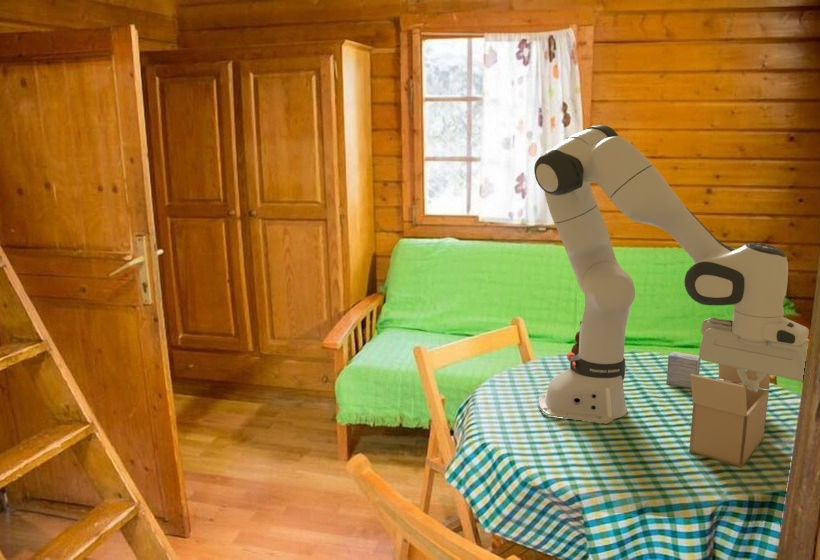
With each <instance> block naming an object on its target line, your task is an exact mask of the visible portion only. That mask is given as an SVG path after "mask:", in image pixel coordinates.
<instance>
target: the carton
mask: <svg viewBox="0 0 820 560" xmlns="http://www.w3.org/2000/svg"><path fill="white" fill-rule="evenodd" d="M717 380H721V381H724V379H719V378H718V379H717ZM725 382H728V381H725ZM730 383H733V382H730ZM734 384H737V383H734ZM739 385H741V384H739ZM769 393H770V391H769V390H768V389H764V388H759V389H758V391H757V392H754V391H750V390H746V404H747V416H742V415H738V414H734V413H730V412H726V411H722V410H719V409H715V408H711V407H707V406H703V405H699V404H695V403H693V402H692V413H691V414H692V417H691V426H690V436H689V438H690V439H689V451H688V452H690V453H693V454H696V455H700V456H703V457H707V458H709V459H713V460H715V461H716V460H717V461H719V462H722V463H726V464H729V465H732V466H736V467H739V468H743V467H744V465H745V464H746V463H747V462H748V460H749V458H750V457H751V456H752V455H753V454H754V452H755V451H756V449H757V448H758V447H759V446H760V444H761V443H762V442H763V440H764V438H765V437H764V435H765V428H766V421H767V413H768V411H767V410H768V402H769ZM760 442H761V443H760ZM757 446H758V447H757ZM754 450H755V451H754Z"/></svg>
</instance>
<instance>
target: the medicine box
mask: <svg viewBox="0 0 820 560" xmlns="http://www.w3.org/2000/svg"><path fill="white" fill-rule="evenodd" d="M701 360H702V359H701V357H700V356H699V354H698V355H697V354H691V353H685V352H678V351H670V354H668V357H667V370H666V371H667V372H666V385H669V386H677V387H682V388H687V389H688V388H689V389H692V387H691V376H690V375H691V374H694V375H699V376H700V372H701V371H700V369H701Z"/></svg>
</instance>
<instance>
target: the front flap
mask: <svg viewBox="0 0 820 560" xmlns="http://www.w3.org/2000/svg"><path fill="white" fill-rule="evenodd" d="M690 376H691V387H692V388H691V397H692V404H693V403H695V404H699V405H703V406H707V407H711V408H715V409H719V410H722V411H726V412H730V413H734V414H738V415H742V416H747V404H746V386H743V385H739V384H734V383H730V382H725V381H721V380H722V379H719V380H718V379H715V378H711V377H707V376H703V375H700V374H699V375H694V374H691V375H690Z"/></svg>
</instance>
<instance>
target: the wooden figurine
mask: <svg viewBox="0 0 820 560" xmlns="http://www.w3.org/2000/svg"><path fill="white" fill-rule="evenodd" d="M579 322H580V323H579V326H580V325H581V323H582V320H580V321H579ZM579 337H580V330H578V331H577V332H576V334H575V336H574V338H575V339H574V340H575V343H574V345H572V347H571V350H570V352H572V353H574V355H577V354H578V353H579Z"/></svg>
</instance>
